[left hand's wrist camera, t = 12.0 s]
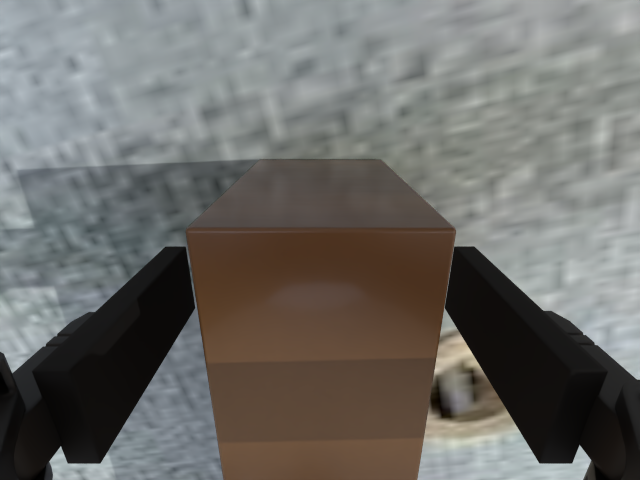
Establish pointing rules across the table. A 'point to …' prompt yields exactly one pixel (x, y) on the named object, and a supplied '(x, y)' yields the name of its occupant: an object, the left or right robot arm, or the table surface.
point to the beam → (320, 319)
